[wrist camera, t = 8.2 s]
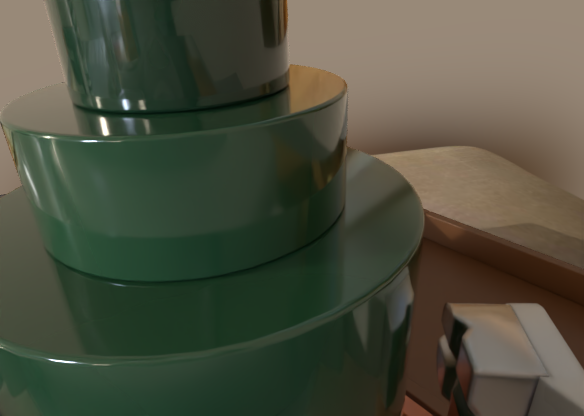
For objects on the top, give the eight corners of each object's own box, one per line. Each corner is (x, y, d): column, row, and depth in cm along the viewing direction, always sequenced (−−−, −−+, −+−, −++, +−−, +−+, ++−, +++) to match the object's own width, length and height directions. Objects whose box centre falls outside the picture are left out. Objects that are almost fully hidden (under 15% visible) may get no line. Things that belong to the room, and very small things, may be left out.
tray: (272, 325, 23) (270, 290, 22) (419, 237, 31) (422, 208, 30) (634, 621, 12) (663, 578, 11) (725, 369, 20) (748, 330, 19)
